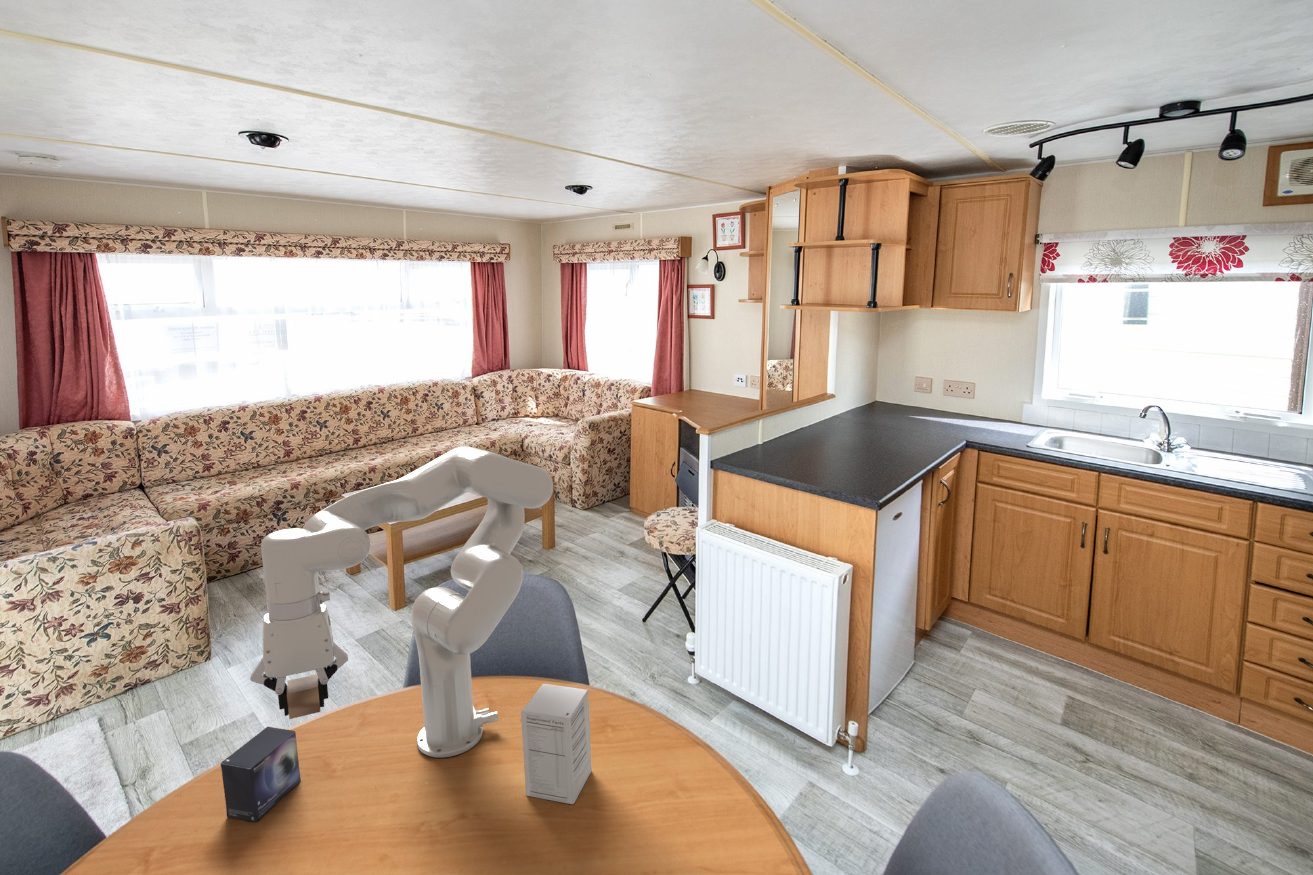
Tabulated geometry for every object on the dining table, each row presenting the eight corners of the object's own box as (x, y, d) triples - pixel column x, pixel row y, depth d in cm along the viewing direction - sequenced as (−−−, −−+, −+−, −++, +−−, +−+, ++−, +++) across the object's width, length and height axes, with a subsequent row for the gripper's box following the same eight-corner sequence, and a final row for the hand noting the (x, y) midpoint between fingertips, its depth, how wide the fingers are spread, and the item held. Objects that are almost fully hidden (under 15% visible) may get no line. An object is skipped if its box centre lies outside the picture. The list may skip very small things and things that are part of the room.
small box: (258, 824, 109) (250, 768, 107) (225, 818, 110) (217, 763, 108) (303, 780, 119) (297, 729, 117) (273, 775, 121) (266, 725, 119)
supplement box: (593, 770, 121) (590, 688, 118) (574, 806, 113) (571, 718, 110) (545, 761, 124) (542, 681, 121) (524, 795, 115) (519, 710, 112)
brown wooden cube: (320, 698, 112) (317, 674, 111) (320, 711, 108) (317, 687, 107) (290, 705, 110) (287, 680, 109) (289, 719, 106) (286, 694, 105)
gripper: (350, 587, 113) (358, 683, 116) (235, 606, 105) (248, 708, 108) (352, 603, 106) (361, 705, 109) (230, 625, 99) (243, 733, 102)
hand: (304, 706), depth 109 cm, fingers closed on brown wooden cube, 4 cm apart
